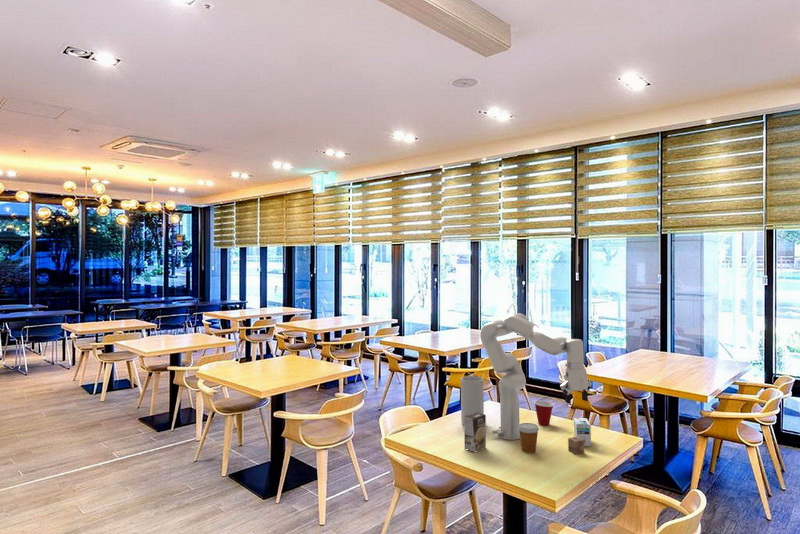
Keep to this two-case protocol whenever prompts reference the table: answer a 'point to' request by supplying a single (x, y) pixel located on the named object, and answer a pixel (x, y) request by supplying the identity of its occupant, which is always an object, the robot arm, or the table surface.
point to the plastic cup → (543, 412)
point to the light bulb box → (582, 430)
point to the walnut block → (576, 445)
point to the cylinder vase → (471, 396)
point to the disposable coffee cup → (528, 437)
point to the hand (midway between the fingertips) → (576, 401)
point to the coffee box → (475, 431)
